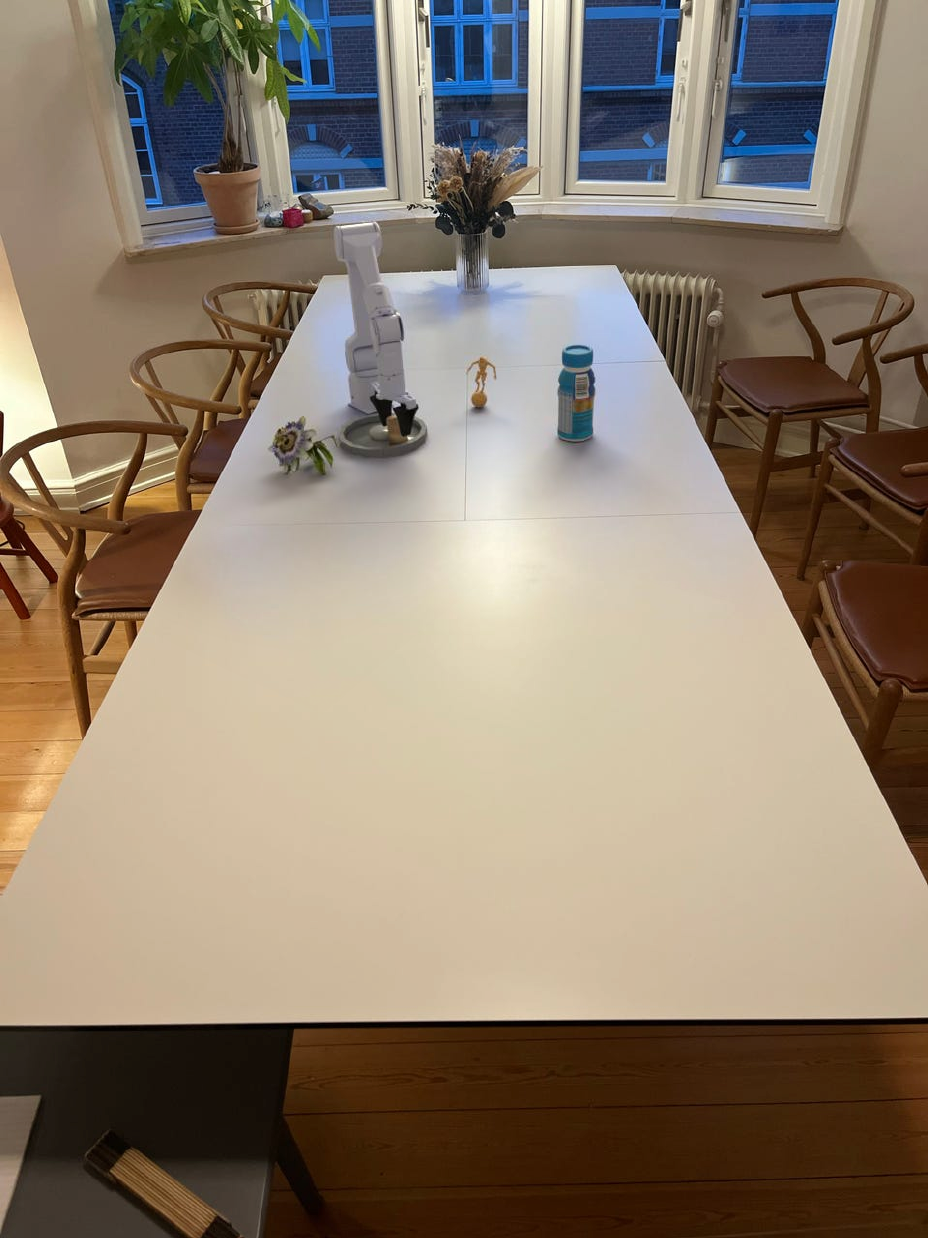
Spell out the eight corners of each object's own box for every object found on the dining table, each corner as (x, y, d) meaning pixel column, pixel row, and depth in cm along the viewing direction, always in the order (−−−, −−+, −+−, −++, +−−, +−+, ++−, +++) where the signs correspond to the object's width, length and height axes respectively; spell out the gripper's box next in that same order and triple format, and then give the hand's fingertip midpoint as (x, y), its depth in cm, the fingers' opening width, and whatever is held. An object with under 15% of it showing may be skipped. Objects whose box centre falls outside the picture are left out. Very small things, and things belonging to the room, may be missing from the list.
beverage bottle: (550, 439, 200) (552, 353, 188) (565, 425, 206) (567, 340, 194) (585, 445, 197) (588, 357, 185) (598, 430, 202) (603, 345, 191)
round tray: (323, 437, 206) (322, 429, 205) (394, 413, 216) (393, 405, 215) (371, 465, 193) (370, 457, 192) (444, 438, 203) (443, 430, 202)
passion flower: (292, 497, 196) (253, 448, 192) (327, 466, 202) (289, 419, 198) (318, 481, 186) (276, 430, 182) (354, 450, 192) (314, 400, 188)
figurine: (461, 406, 218) (458, 359, 211) (473, 398, 222) (471, 351, 215) (490, 412, 214) (488, 364, 207) (501, 403, 218) (500, 356, 211)
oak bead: (385, 443, 201) (382, 418, 197) (400, 437, 203) (397, 412, 199) (396, 449, 198) (394, 424, 194) (411, 443, 200) (409, 418, 197)
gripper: (357, 367, 193) (364, 425, 201) (394, 385, 184) (400, 444, 192) (383, 359, 197) (389, 416, 205) (421, 376, 187) (426, 435, 195)
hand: (396, 429), depth 198 cm, fingers open, 7 cm apart
